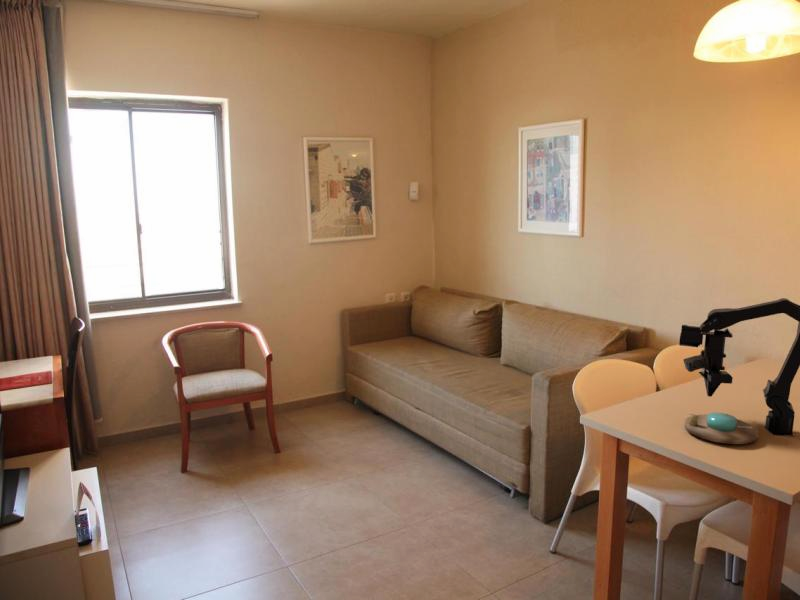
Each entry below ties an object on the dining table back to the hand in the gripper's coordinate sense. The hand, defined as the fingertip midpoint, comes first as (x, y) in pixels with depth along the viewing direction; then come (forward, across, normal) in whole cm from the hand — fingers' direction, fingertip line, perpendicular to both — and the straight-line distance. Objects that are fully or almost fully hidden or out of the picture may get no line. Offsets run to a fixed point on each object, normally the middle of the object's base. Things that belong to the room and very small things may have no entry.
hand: (709, 396), depth 202 cm
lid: (+6, +11, 0) cm, 13 cm away
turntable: (+8, +11, 0) cm, 14 cm away
